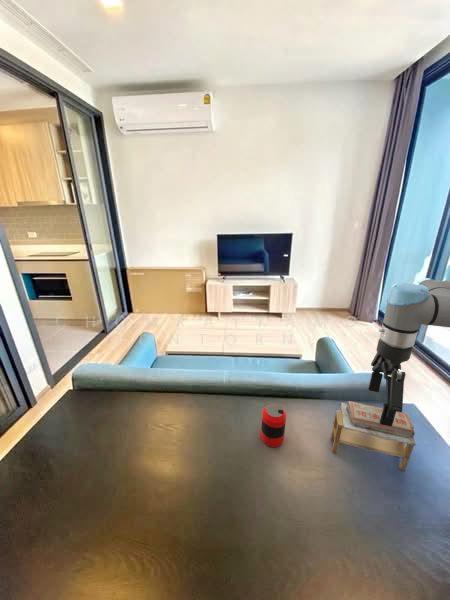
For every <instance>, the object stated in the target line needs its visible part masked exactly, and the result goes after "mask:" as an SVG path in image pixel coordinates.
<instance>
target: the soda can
mask: <svg viewBox="0 0 450 600" xmlns="http://www.w3.org/2000/svg"><path fill="white" fill-rule="evenodd" d="M286 423H287V413H286V411H285V409H284V408H283V407H282V406H281V405H279V404H277V403H269V404H267V405H266V406H264V407H263V409H262V415H261V431H260V439H261V441H262V442H263V443H264V444H265V445H266V446H268V447H272V448H277V447H280V446H281V445H282V444H283V443H284V439H285V438H284V437H285V431H286Z"/></svg>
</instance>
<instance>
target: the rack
mask: <svg viewBox="0 0 450 600" xmlns="http://www.w3.org/2000/svg"><path fill="white" fill-rule="evenodd" d="M413 438H414V440H415V442H416V439H415V436H413ZM330 441H331V442H333V443H332V448H331V453H332V454H335V455H337V453H338V447H339V444H344V445H348V446H352V447H357V448H361V449H365V450H368V451H374V452H378V453H382V454H386V455H390V456H395V457H398V458H401V460H400V462H399V465H398V468H399V470H400V471H402V472H406V469H407V466H408V464H409V461H410V458H411V456H412V452H413V450H414V447H415V446H414V445H410V444H406V443H403V442H398V441H391V440H384V439H382V438H379V437H376V436H372V435H368V434H365V433H361V432H358V431H352V430H346V429H344V424H343V415H342V410H340V409H339V410H338V409H336V410H335V414H334V419H333V424H332V429H331V434H330ZM416 443H417V442H416Z"/></svg>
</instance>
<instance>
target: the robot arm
mask: <svg viewBox="0 0 450 600" xmlns="http://www.w3.org/2000/svg"><path fill="white" fill-rule="evenodd" d="M421 325H424V326H435V327H442V328H450V279H449V280H436V279H433V278H429V277H423V278H419V279H417V280H415V281H414V282H397V283H394V284H393V285H392V286H391V288H390V291H389V294H388V297H387V299H386V307H385V311H384V316H383V320H382V325H381V328H378V332H379V333H380V334H379V339H378V340H377V344H376V353H375V355H374V357H373V359H372V361H371V363H370V366H371V367H372V368H371V369H372V370H371V371H372V372H371V375H370V380H369V384H368V392H373V393H374V392H375V393H380V392H379V391H380V388H381V384H382V380H383V379H384V380H385V397H386V399H385V400H386V402H384V403H383V404H382V405H383V407H382V408H383V411H382V415H381V418H380V424H381V425H386V426H391V427H392V424H393V421H394V417H395V414H396V411H397V412H402V413H403V405H404V388H405V379H406V372H405V371H402V364H403V363H405V362H408V361H409V360H410V358H411V356H412V352H413V350H414V349H413V347H414V345H415V343H416V341H417V337H418V332H419V328H420V326H421Z"/></svg>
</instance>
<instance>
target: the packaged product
mask: <svg viewBox="0 0 450 600" xmlns="http://www.w3.org/2000/svg"><path fill="white" fill-rule="evenodd" d="M341 411H342V415H343V424H344V429H346V430H352V431H358V432H361V433H365V434H368V435H372V436H376V437H379V438H382V439H384V440H391V441H398V442H403V443H404V444H405V445H407V444H410V445H414V447H415V446H417V442H415V441H416V439H415V435H416V431H415V426H414V425H413V423H412V420H411V417H410V415H409V413H407V412H403V411H402V412H397V411H396V414H395V417H394V421H393V424H392V427H391V426H386V425H381V424H380V418H381V415H382V411H383V407H380V406H374V405H370V404H366V403H365V404H364V403H360V402H356V401H351V400H350V401H347V402H341ZM413 437H414V438H413ZM414 439H415V440H414Z"/></svg>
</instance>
